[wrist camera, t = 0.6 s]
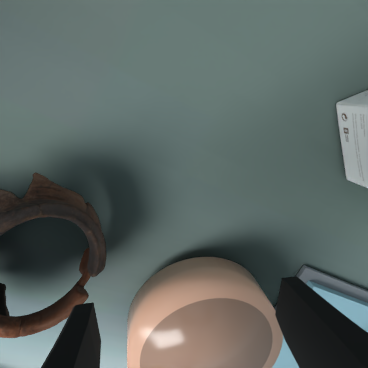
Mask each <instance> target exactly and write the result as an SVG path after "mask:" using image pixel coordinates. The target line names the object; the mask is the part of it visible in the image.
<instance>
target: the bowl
mask: <svg viewBox="0 0 368 368" xmlns="http://www.w3.org/2000/svg"><path fill="white" fill-rule="evenodd" d="M275 313H276V311H275V309H274V308H273V306H272V304H271V303H270V301H269V300H268V298H267V297H266V295H265V294H264V292H263V290H262V289H261V287H260V286H259V284H258V283H257V281H256V280H255V278H254V277H253V276H252V274H251V273H250V272H249V271H247V270H246V269H245V268H244V267H242V266H241V265H239V264H237V263H235V262H233V261H230V260H227V259H223V258H217V257H195V258H190V259H185V260H182V261H179V262H176V263H174V264H172V265H169V266H167V267H165V268H164V269H162V270H160V271H159V272H157V273H156V274H155V275H153V276H152V277H151V278H150V279H149V280H148V281H146V282H145V283H144V284H143V286H142V287H141V288H140V289H139V291H138V292H137V294H136V295H135V297H134V299H133V301H132V303H131V305H130V309H129V312H128V320H127V365H128V368H272V367H273V365H274V364H275V362H276V360H277V358H278V356H279V353H280V350H281V347H282V342H283V334H282V331H281V329H280V326H279V324H278V321H277V318H276V316H275Z"/></svg>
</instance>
